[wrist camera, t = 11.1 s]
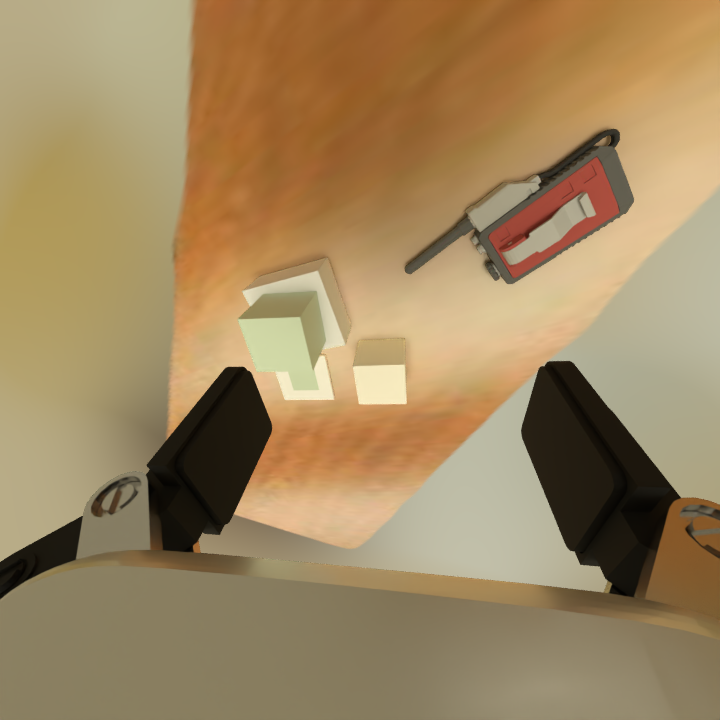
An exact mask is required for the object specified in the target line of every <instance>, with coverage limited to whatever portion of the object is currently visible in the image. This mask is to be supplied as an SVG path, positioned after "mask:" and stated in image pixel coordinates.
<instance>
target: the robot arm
mask: <svg viewBox="0 0 720 720" xmlns="http://www.w3.org/2000/svg"><path fill="white" fill-rule="evenodd" d="M271 432H272V423H271V421H270V418H269V416H268V413H267V411H266V408H265V406H264V403H263V401H262V398H261V396H260V393H259V391H258V388H257V386H256V383H255V381H254V378H253V376H252V374H251V372H250V371H247V369H246V368H245V367H227V368H225V369H224V370H223V372H222V373H221V374H220V375H219V376H218V378H217V379H216V380H215V381H214V383H213V384H212V385H211V386H210V388H209V389H208V390H207V391H206V392H205V394H204V395H203V396H202V397H201V399H200V400H199V401H198V402H197V404H196V405H195V406H194V407H193V408H192V410H191V411H190V412H189V413H188V415H187V416H186V417H185V418H184V420H183V421H182V422H181V423H180V424H179V426H178V427H177V428H176V429H175V431H174V432H173V433H172V434H171V436H170V437H169V438H168V439H167V440H166V442H165V443H164V444H163V445H162V447H161V448H160V449H159V450H158V452H157V453H156V454H155V456H153V458H152V459H151V460H150V461H149V463H148V464H147V467H148V468H149V469H150V470H149V472H148V473H147V474H146V475H145V474H144V473H142V472H137V471H133V472H128V473H124V474H122V475H119V476H117V477H115V478H113V479H112V480H110V481H108V482H107V483H106V484H104V485H103V486H102V487H100V488H99V489H98V490H97V491H96V492H95V494H93V495H92V497H91V498H90V500H89V501H88V502H87V504H86V507H85V509H84V513H83V516H81V517H79V518H78V519H76V520H74V521H72V522H70V523H69V524H67V525H65V526H63V527H61V528H59V529H58V530H56V531H54V532H52V533H51V534H48V535H47V536H45V537H43V538H41V539H39V540H37V541H36V542H34V543H32V544H30V545H28V546H26V547H25V548H23V549H21V550H19V551H17V552H16V553H14V554H12V555H11V556H9V557H7V558H6V559H4V560H3V561H1V562H0V720H720V505H719V504H717V503H714V502H711V501H708V500H704V499H699V498H681V497H680V496H679V495H678V494H677V492H676V491H675V490H674V488H673V487H672V486H671V485H670V484H669V482H668V481H667V480H666V478H665V477H664V476H663V475H662V473H661V472H660V471H659V469H658V468H657V467H656V466H655V464H654V463H653V462H652V461H651V460H650V458H649V457H648V456H647V454H646V453H645V452H644V450H643V449H642V448H641V447H640V445H639V444H638V443H637V442H636V440H635V439H634V438H633V437H632V435H631V434H630V433H629V432H628V430H627V429H626V428H625V426H624V425H623V424H622V423H621V422H620V420H619V419H618V418H617V416H616V415H615V414H614V413H613V412H612V411H611V410H610V409H609V408H608V407H607V405H606V404H605V403H604V402H603V400H602V399H601V398H600V396H599V395H598V394H597V393H596V391H595V390H594V389H593V388H592V386H591V385H590V384H589V383H588V381H587V380H586V379H585V377H584V376H583V375H582V374H581V372H580V371H579V370H578V368H577V367H576V366H575V365H574V363H572V362H570V361H549V362H547V363H546V365H545V366H542V367H540V368H539V370H538V373H537V377H536V380H535V383H534V387H533V391H532V394H531V398H530V401H529V404H528V408H527V411H526V414H525V418H524V421H523V425H522V429H521V433H522V438H523V441H524V444H525V446H526V449H527V451H528V453H529V456H530V458H531V461H532V463H533V466H534V468H535V470H536V473H537V475H538V478H539V481H540V483H541V485H542V488H543V490H544V493H545V495H546V498H547V500H548V503H549V505H550V507H551V510H552V512H553V515H554V517H555V520H556V522H557V525H558V527H559V530H560V532H561V535H562V537H563V539H564V542H565V544H566V546H567V548H568V549H569V550H570V551H575V553H576V556H577V558H578V560H579V563H580V565H589V566H600V568H601V570H602V572H603V574H604V577H605V579H607V580H608V581H607V584H606V587H605V590H604V592H603V593H601V592H593V591H585V590H576V589H568V588H559V587H551V586H542V585H534V584H524V583H515V582H504V581H494V580H483V579H474V578H464V577H454V576H444V575H434V574H424V573H414V572H403V571H393V570H382V569H371V568H361V567H351V566H339V565H329V564H319V563H308V562H297V561H286V560H274V559H264V558H253V557H252V558H251V557H240V556H229V555H219V554H207V553H201V552H200V546H199V541H198V540H199V538H200V536H201V534H202V532H203V533H205V534H215V535H220V533H221V531H222V529H223V527H224V525H225V524H228V523H229V522H230V520H231V518H232V516H233V514H234V512H235V510H236V508H237V505H238V503H239V501H240V499H241V497H242V495H243V493H244V490H245V488H246V486H247V484H248V482H249V480H250V478H251V475H252V473H253V471H254V469H255V467H256V465H257V463H258V460H259V458H260V456H261V454H262V452H263V450H264V448H265V445H266V443H267V441H268V439H269V437H270V435H271Z"/></svg>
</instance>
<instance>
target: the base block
mask: <svg viewBox="0 0 720 720" xmlns="http://www.w3.org/2000/svg"><path fill="white" fill-rule="evenodd" d="M312 291H317V296H318V301H319V306H320V311H321V317H322V322H323V327H324V332H325V337H326V342H325V344H324V347H323V349H328V348H333V347H338V346H343V345H346V342H347V339H348V335H349V332H350V329H351V323H350V320H349V317H348V315H347V312H346V309H345V306H344V303H343V300H342V297H341V294H340V291H339V289H338V286H337V283H336V280H335V277H334V274H333V271H332V268H331V265H330V263H329V260H328V257H327V258H323V259H320V260H316V261H312V262H309V263H305V264H302V265H298V266H295V267H291V268H288V269H284V270H280V271H277V272H273V273H270V274H266V275H263V276H259V277H258V278H257V279H256V280H254V281H253V282H252V283H251V284H250V285H249V286H247V287H246V288H245V289H244V290H243V291H242V292H243V294H244V296H245V298H246V300H247V302H248V304H249V305H250V307H251V306H252V305H253V304H254V303H255V302H256V301H257V300H258V299H259V298H260V297H261V296H262V295H263V294H273V293H292V292H312ZM323 349H322V350H323Z"/></svg>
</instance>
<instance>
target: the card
mask: <svg viewBox="0 0 720 720" xmlns="http://www.w3.org/2000/svg"><path fill="white" fill-rule="evenodd" d="M276 375H277V378H278V381H279V384H280V387H281V390H282V393H283V396H284V398H285V400H334V399H335V395H334V391H333V386H332V382H331V377H330V372H329V368H328V363H327V359H326V354H320V356H319V358H318V361H317V363H316V366H315V368H314V370H313V371H308V372H276Z"/></svg>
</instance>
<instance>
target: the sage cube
mask: <svg viewBox="0 0 720 720" xmlns="http://www.w3.org/2000/svg"><path fill="white" fill-rule="evenodd" d="M238 322H239V325H240V327H241V330H242V333H243V336H244V338H245V341H246V344H247V346H248V349H249V352H250V354H251V357H252V360H253V363H254V365H255V368H256V371H257V372H308V371H313V370H314V368H315V366H316V363H317V361H318V358H319V356H320V354H321V351H322V349H323V347H324V344H325V342H326V337H325V332H324V327H323V322H322V317H321V311H320V306H319V301H318V296H317V291H312V292H292V293H273V294H263V295H262V296H261V297H260V298H259V299H258V300H257V301H256V302H255V303H254V304H253V305H252V306H251V307H250V308H249V309H248V310H246V311H245V312H244V313H243V314H242V315H241V316H240V317H239V318H238Z"/></svg>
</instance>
